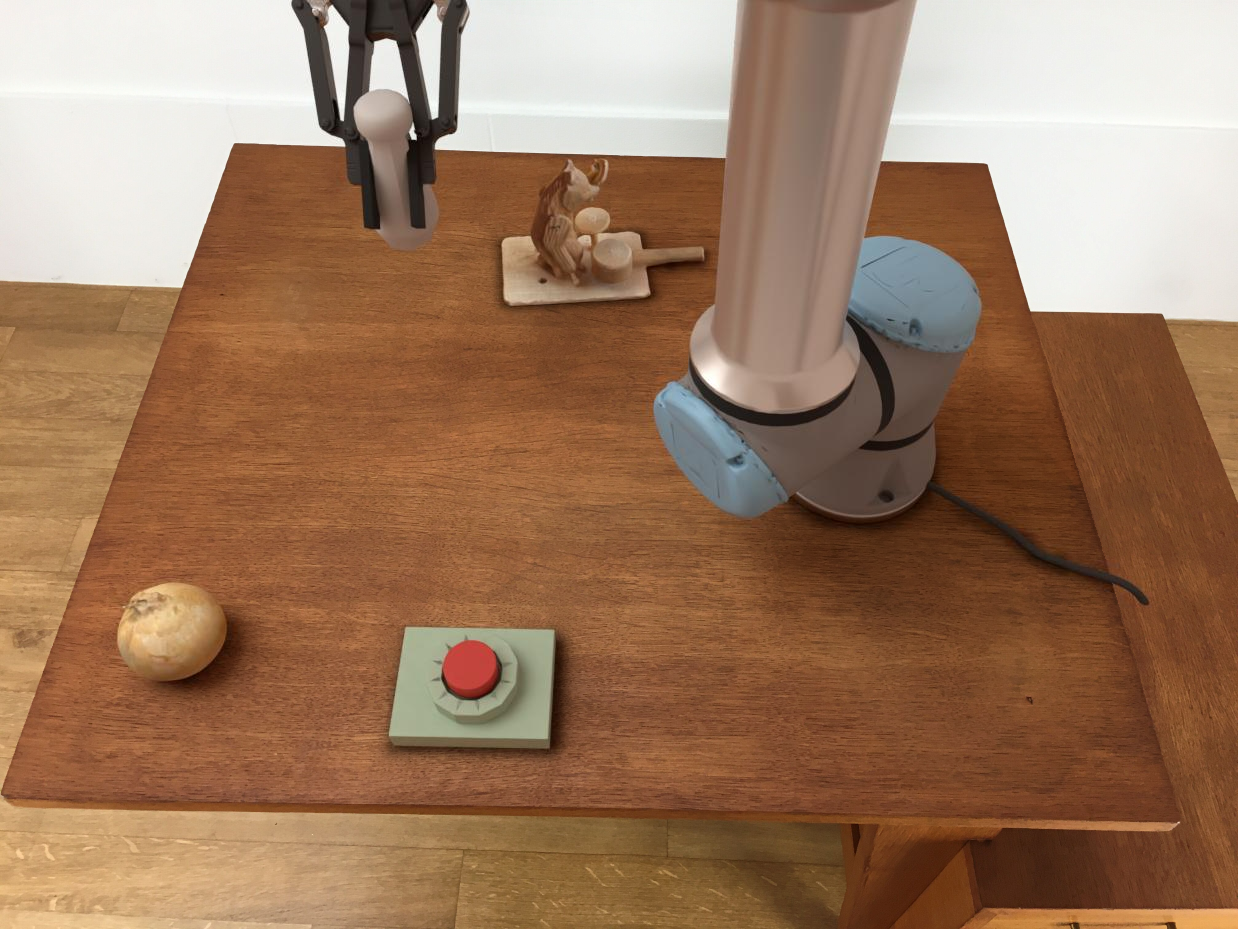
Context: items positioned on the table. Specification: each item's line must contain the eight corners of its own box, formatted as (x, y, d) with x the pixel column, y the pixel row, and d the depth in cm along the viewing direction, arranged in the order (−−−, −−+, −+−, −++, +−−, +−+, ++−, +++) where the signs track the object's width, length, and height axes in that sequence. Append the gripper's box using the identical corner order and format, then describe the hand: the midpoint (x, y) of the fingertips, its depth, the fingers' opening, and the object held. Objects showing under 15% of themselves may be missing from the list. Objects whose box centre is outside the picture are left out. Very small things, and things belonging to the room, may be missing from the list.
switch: (500, 649, 75) (498, 640, 73) (496, 699, 73) (493, 690, 71) (449, 648, 75) (446, 639, 73) (443, 698, 73) (439, 689, 71)
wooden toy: (501, 306, 101) (488, 202, 90) (501, 239, 107) (489, 134, 96) (709, 298, 102) (722, 194, 91) (698, 232, 108) (709, 127, 97)
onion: (239, 597, 81) (210, 555, 75) (232, 686, 77) (202, 648, 71) (140, 610, 80) (104, 569, 75) (128, 700, 76) (88, 664, 70)
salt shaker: (431, 263, 80) (405, 129, 70) (365, 253, 81) (329, 119, 70) (450, 216, 84) (428, 82, 73) (387, 207, 84) (356, 73, 74)
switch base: (555, 640, 79) (553, 619, 76) (549, 749, 74) (547, 730, 71) (410, 638, 79) (401, 616, 76) (393, 746, 74) (383, 727, 71)
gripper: (487, -76, 76) (500, 229, 81) (283, -74, 76) (306, 232, 80) (477, -115, 69) (492, 222, 73) (251, -114, 68) (279, 226, 73)
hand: (395, 227), depth 77 cm, fingers closed on salt shaker, 3 cm apart
